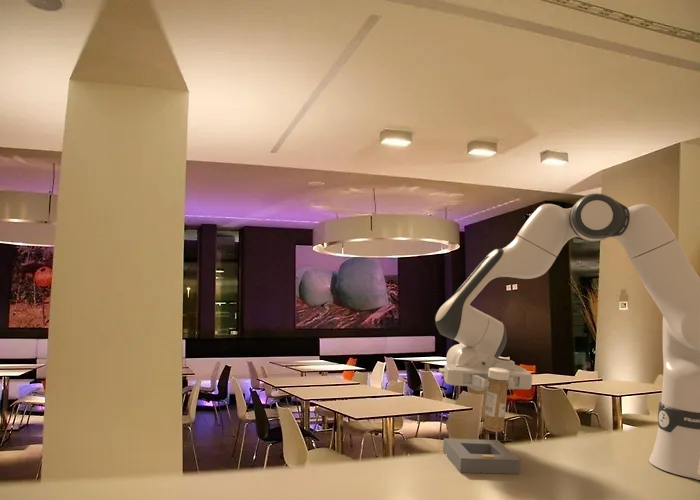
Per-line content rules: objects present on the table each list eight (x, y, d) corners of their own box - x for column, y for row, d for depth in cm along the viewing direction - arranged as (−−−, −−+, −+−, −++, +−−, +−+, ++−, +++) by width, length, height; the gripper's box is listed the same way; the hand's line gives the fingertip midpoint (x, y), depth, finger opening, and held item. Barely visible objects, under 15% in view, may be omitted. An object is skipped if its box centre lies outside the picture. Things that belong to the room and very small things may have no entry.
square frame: (496, 452, 141) (497, 439, 141) (519, 474, 128) (520, 459, 128) (442, 451, 139) (443, 437, 139) (459, 472, 126) (461, 457, 126)
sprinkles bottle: (506, 433, 132) (513, 372, 131) (486, 432, 131) (493, 371, 131) (499, 425, 136) (505, 367, 136) (480, 424, 136) (486, 366, 135)
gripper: (437, 355, 145) (454, 368, 131) (518, 360, 147) (543, 373, 134) (435, 381, 145) (451, 396, 131) (516, 386, 148) (541, 401, 134)
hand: (498, 385), depth 133 cm, fingers closed on sprinkles bottle, 4 cm apart
